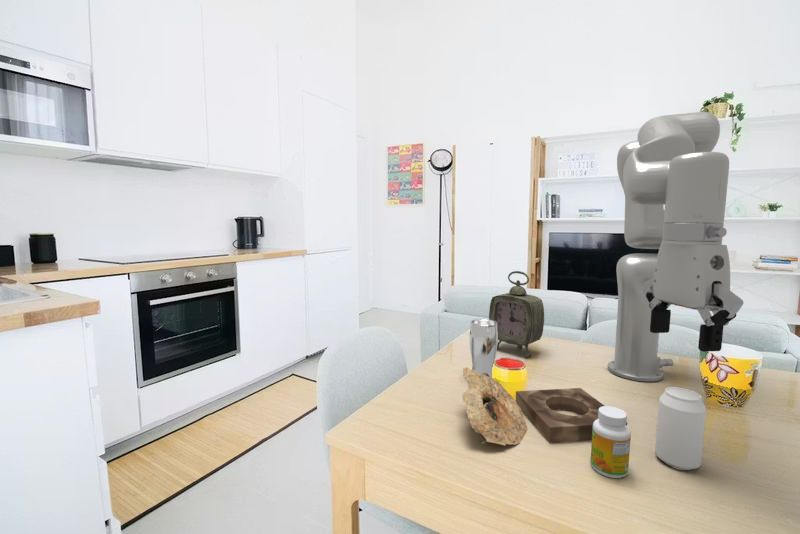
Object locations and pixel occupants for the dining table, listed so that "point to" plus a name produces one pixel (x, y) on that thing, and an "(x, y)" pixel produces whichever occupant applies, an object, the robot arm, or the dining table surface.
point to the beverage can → (680, 428)
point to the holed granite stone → (492, 410)
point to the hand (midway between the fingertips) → (682, 340)
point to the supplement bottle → (610, 443)
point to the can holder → (555, 424)
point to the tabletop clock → (518, 316)
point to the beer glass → (483, 345)
